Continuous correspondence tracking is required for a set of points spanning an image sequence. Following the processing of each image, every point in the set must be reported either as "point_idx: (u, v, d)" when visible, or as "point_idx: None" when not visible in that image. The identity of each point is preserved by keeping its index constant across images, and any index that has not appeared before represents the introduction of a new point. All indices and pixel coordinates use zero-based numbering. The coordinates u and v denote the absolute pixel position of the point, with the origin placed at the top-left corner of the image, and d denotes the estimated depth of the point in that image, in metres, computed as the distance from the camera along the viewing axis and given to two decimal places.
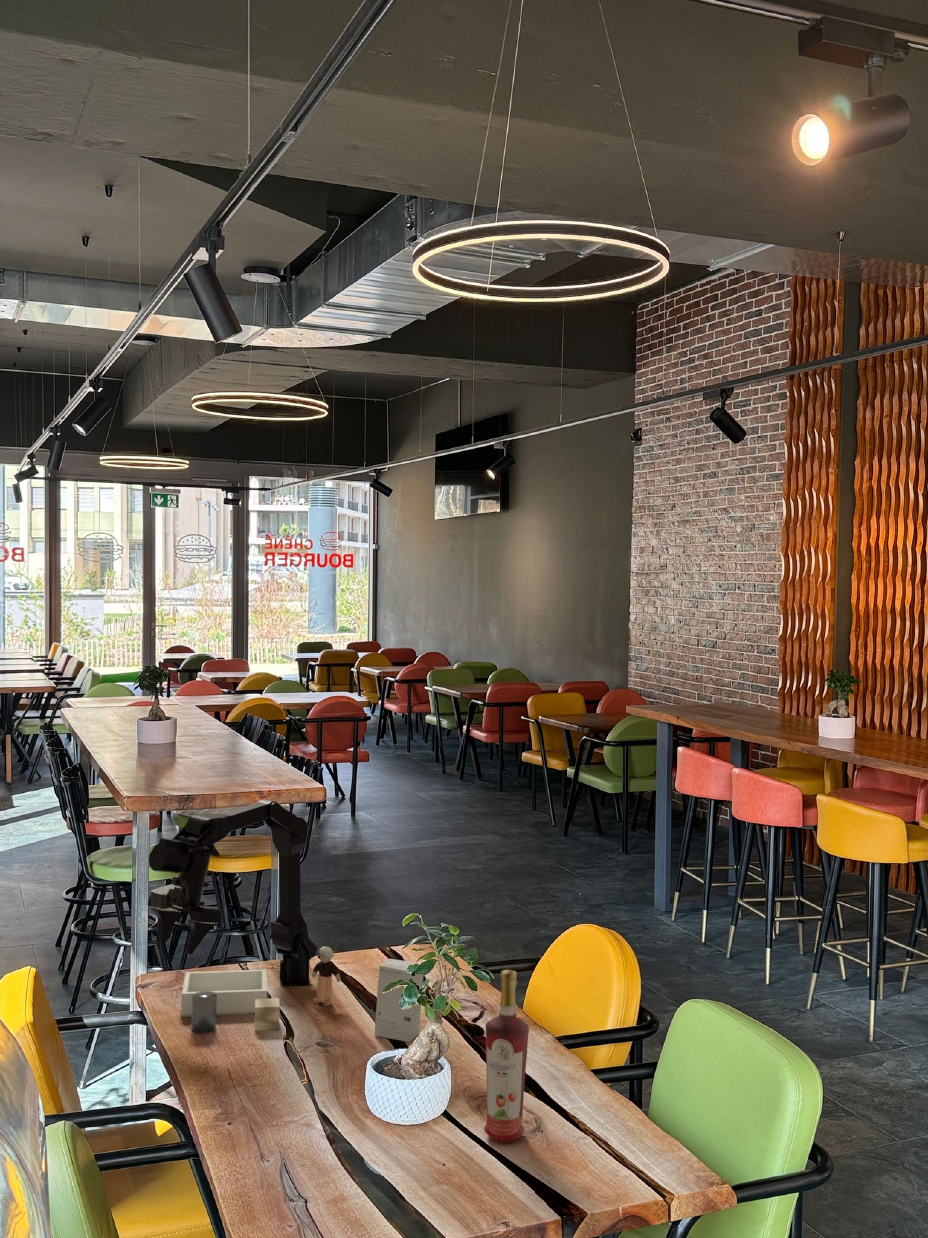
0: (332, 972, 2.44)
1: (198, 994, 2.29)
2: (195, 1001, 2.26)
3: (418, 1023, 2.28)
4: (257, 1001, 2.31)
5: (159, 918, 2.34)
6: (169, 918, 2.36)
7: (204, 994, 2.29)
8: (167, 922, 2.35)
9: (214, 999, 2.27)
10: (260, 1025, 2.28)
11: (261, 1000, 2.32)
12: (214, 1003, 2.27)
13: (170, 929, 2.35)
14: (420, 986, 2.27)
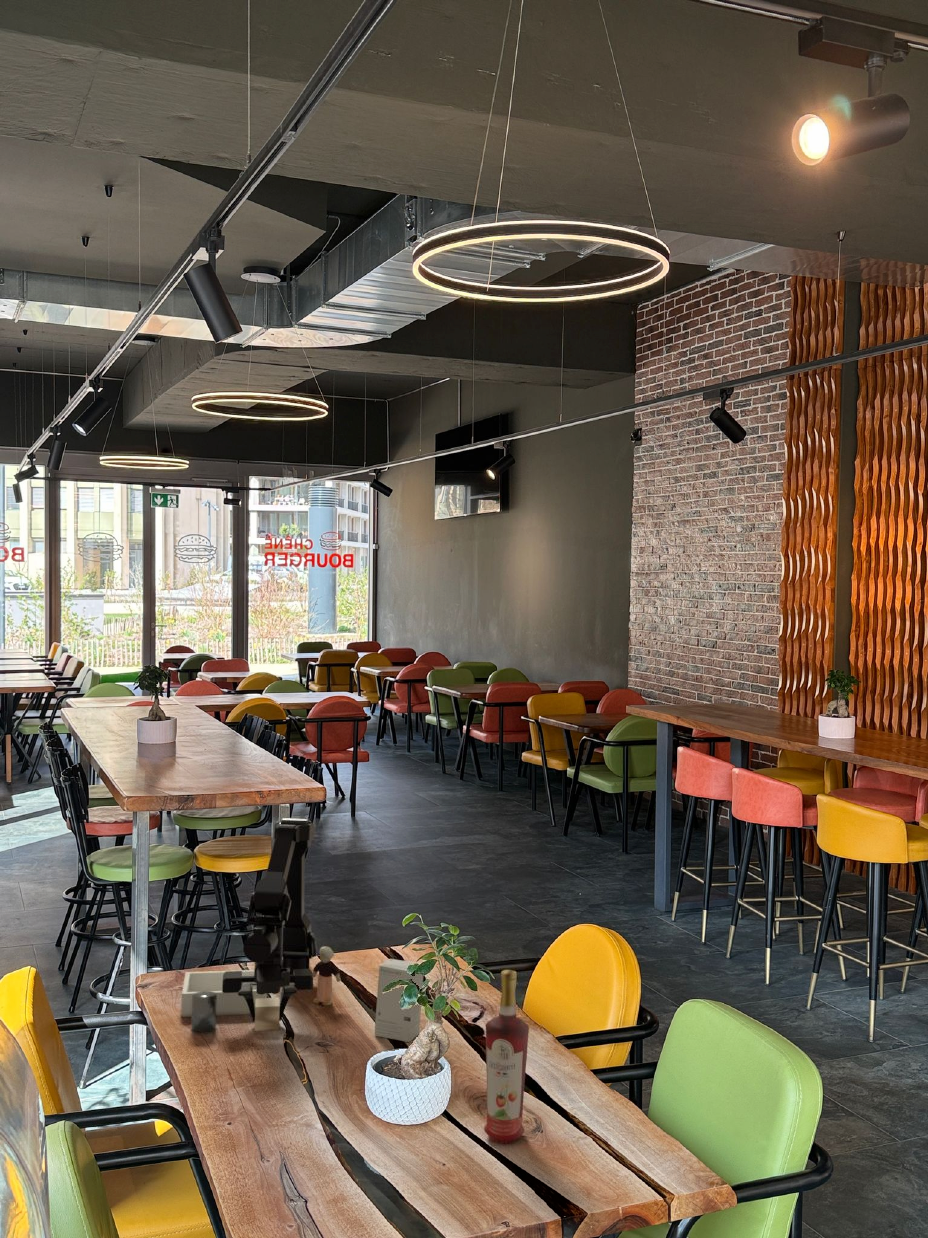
0: (332, 972, 2.44)
1: (198, 994, 2.29)
2: (195, 1001, 2.26)
3: (418, 1023, 2.28)
4: (257, 1001, 2.31)
5: (249, 999, 2.28)
6: None
7: (204, 994, 2.29)
8: (253, 999, 2.30)
9: (214, 999, 2.27)
10: (260, 1025, 2.28)
11: (261, 1000, 2.32)
12: (214, 1003, 2.27)
13: None
14: (420, 986, 2.27)
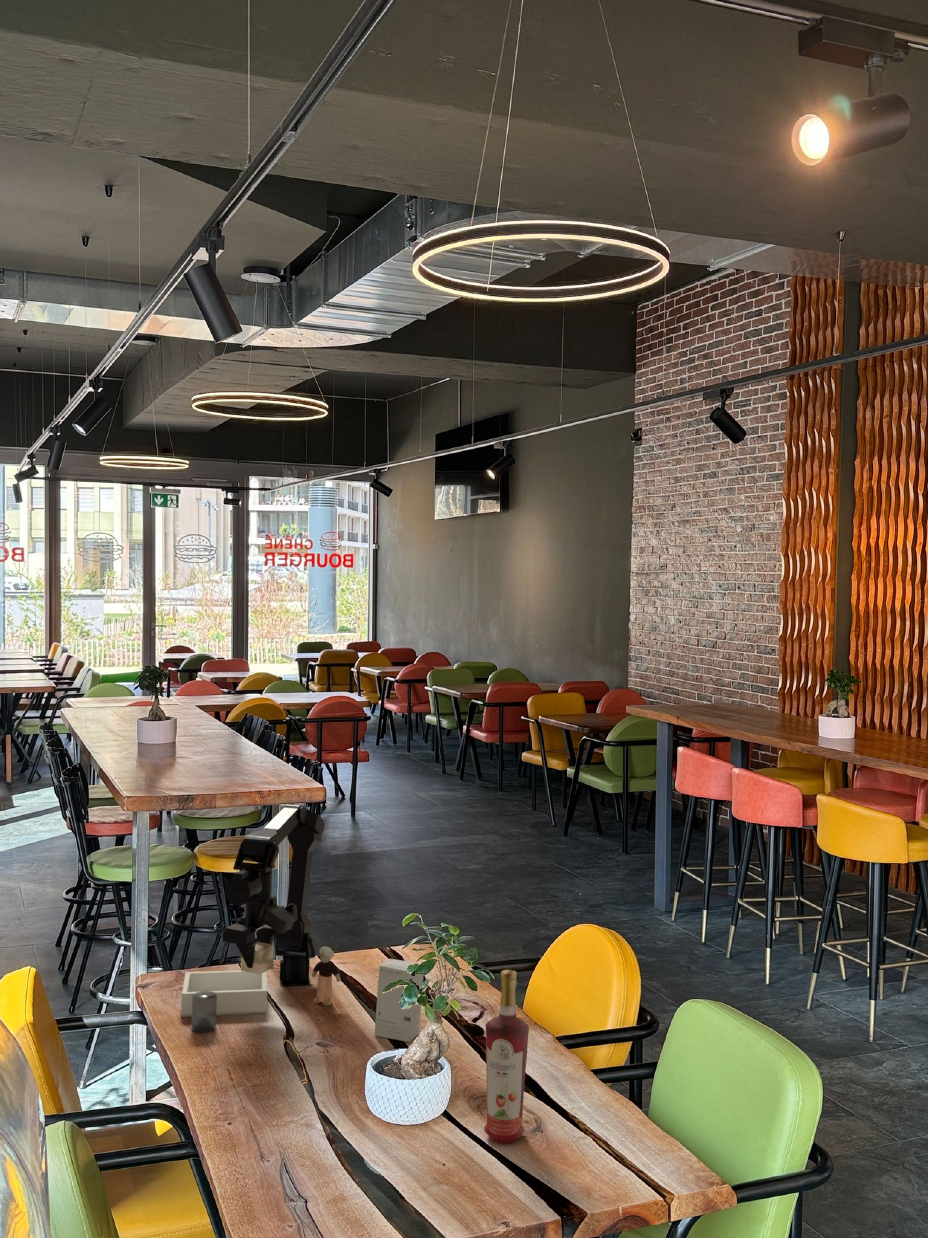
0: (332, 972, 2.44)
1: (198, 994, 2.29)
2: (195, 1001, 2.26)
3: (418, 1023, 2.28)
4: None
5: (253, 946, 2.33)
6: None
7: (204, 994, 2.29)
8: None
9: (214, 999, 2.27)
10: (263, 967, 2.35)
11: None
12: (214, 1003, 2.27)
13: None
14: (420, 986, 2.27)
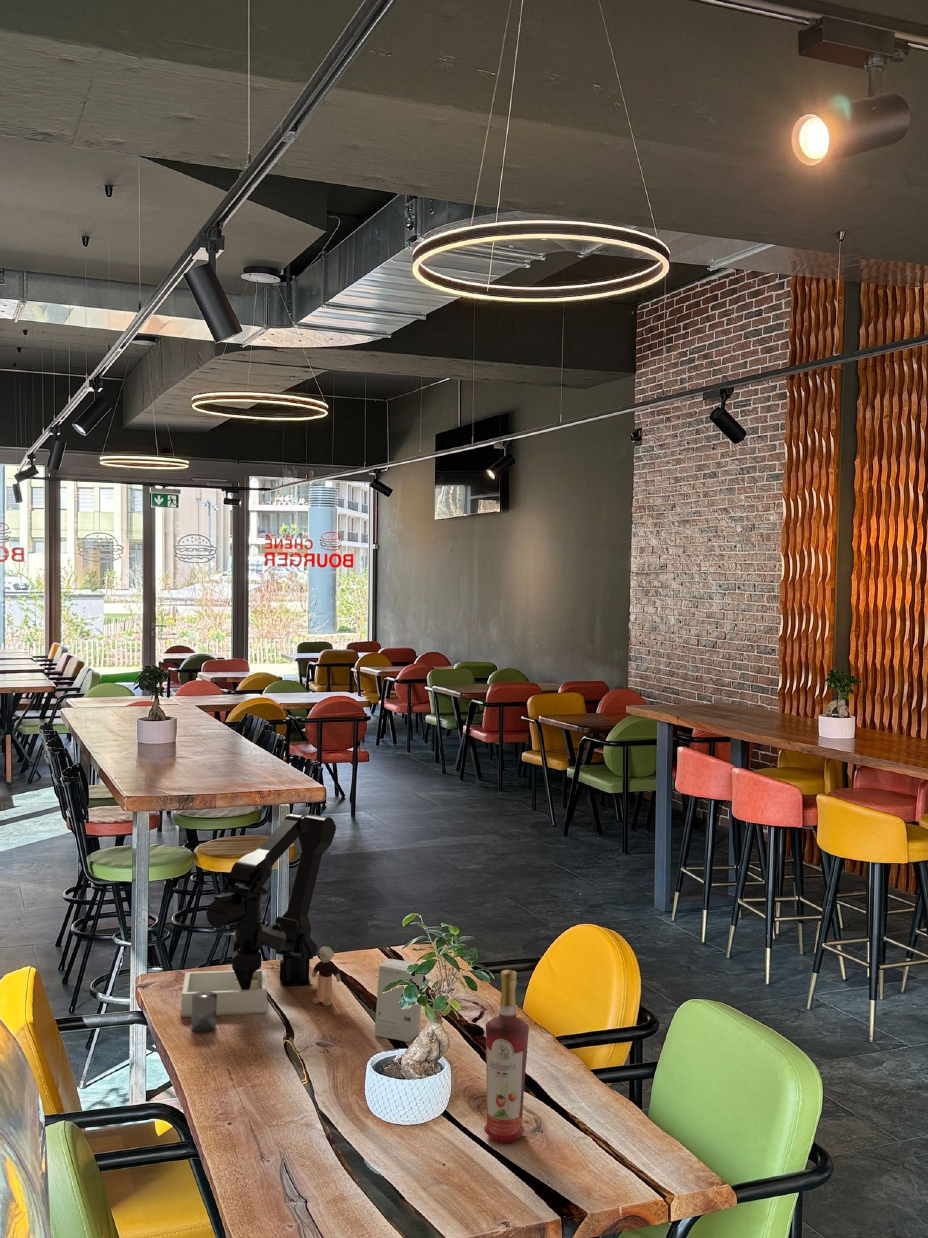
0: (332, 972, 2.44)
1: (198, 994, 2.29)
2: (195, 1001, 2.26)
3: (418, 1023, 2.28)
4: None
5: (253, 972, 2.38)
6: None
7: (204, 994, 2.29)
8: None
9: (214, 999, 2.27)
10: None
11: None
12: (214, 1003, 2.27)
13: None
14: (420, 986, 2.27)
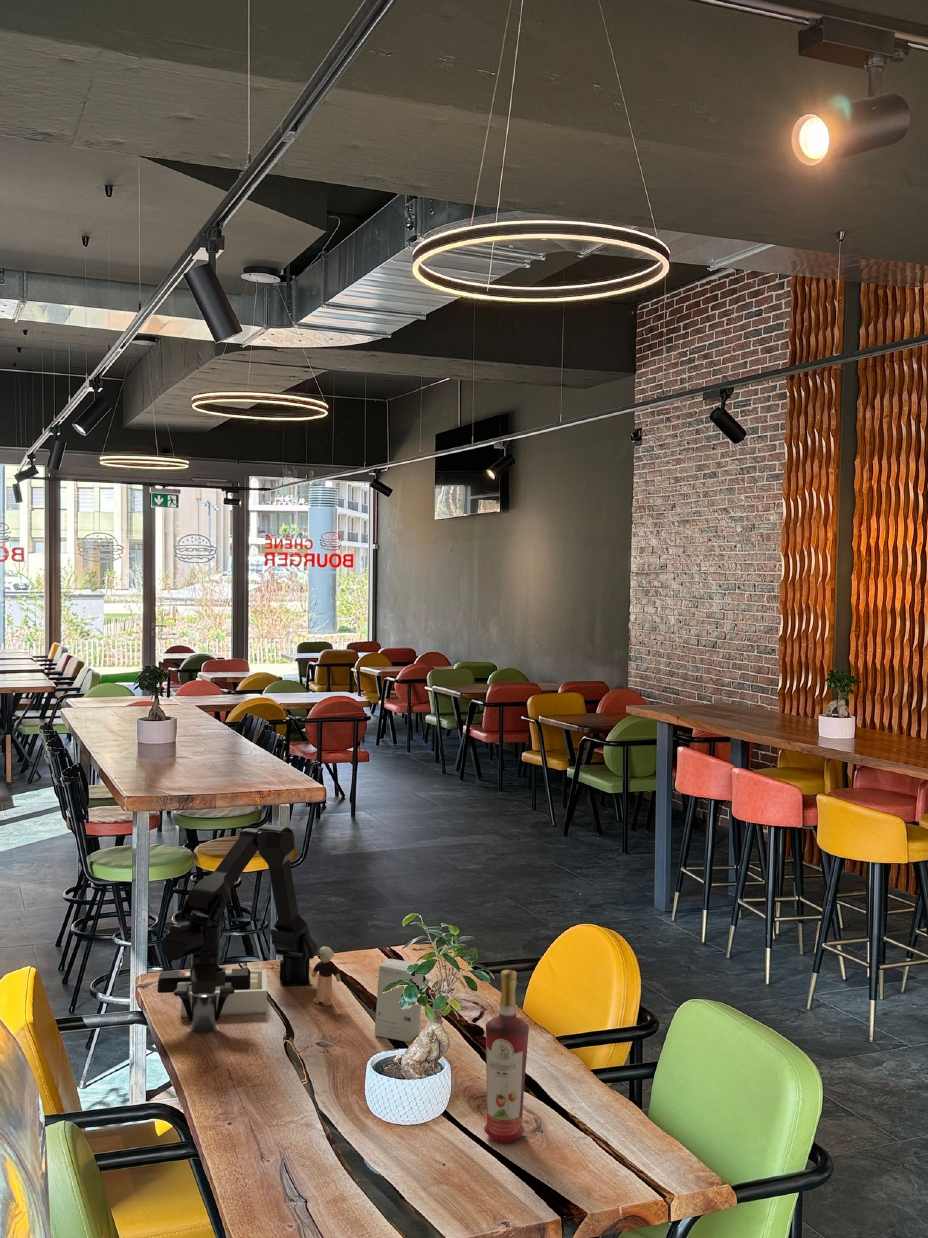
0: (332, 972, 2.44)
1: (197, 994, 2.29)
2: (195, 1001, 2.26)
3: (418, 1023, 2.28)
4: None
5: (185, 999, 2.26)
6: (189, 995, 2.28)
7: (204, 993, 2.29)
8: (190, 999, 2.27)
9: (214, 999, 2.27)
10: None
11: None
12: (214, 1003, 2.27)
13: None
14: (420, 986, 2.27)
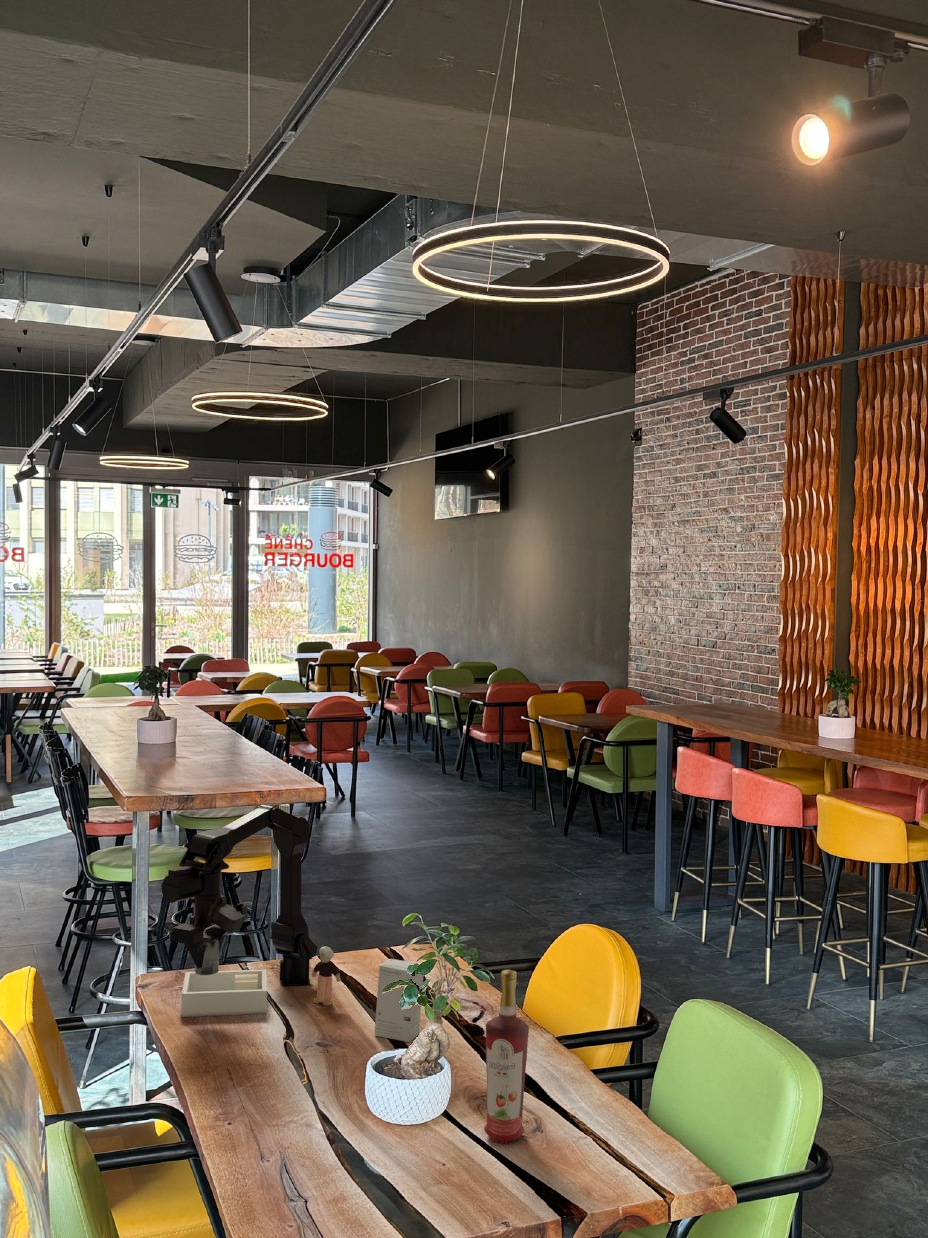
0: (332, 972, 2.44)
1: None
2: (208, 945, 2.33)
3: (418, 1023, 2.28)
4: (242, 981, 2.41)
5: (202, 946, 2.31)
6: None
7: None
8: None
9: None
10: None
11: (239, 980, 2.42)
12: None
13: None
14: (420, 986, 2.27)
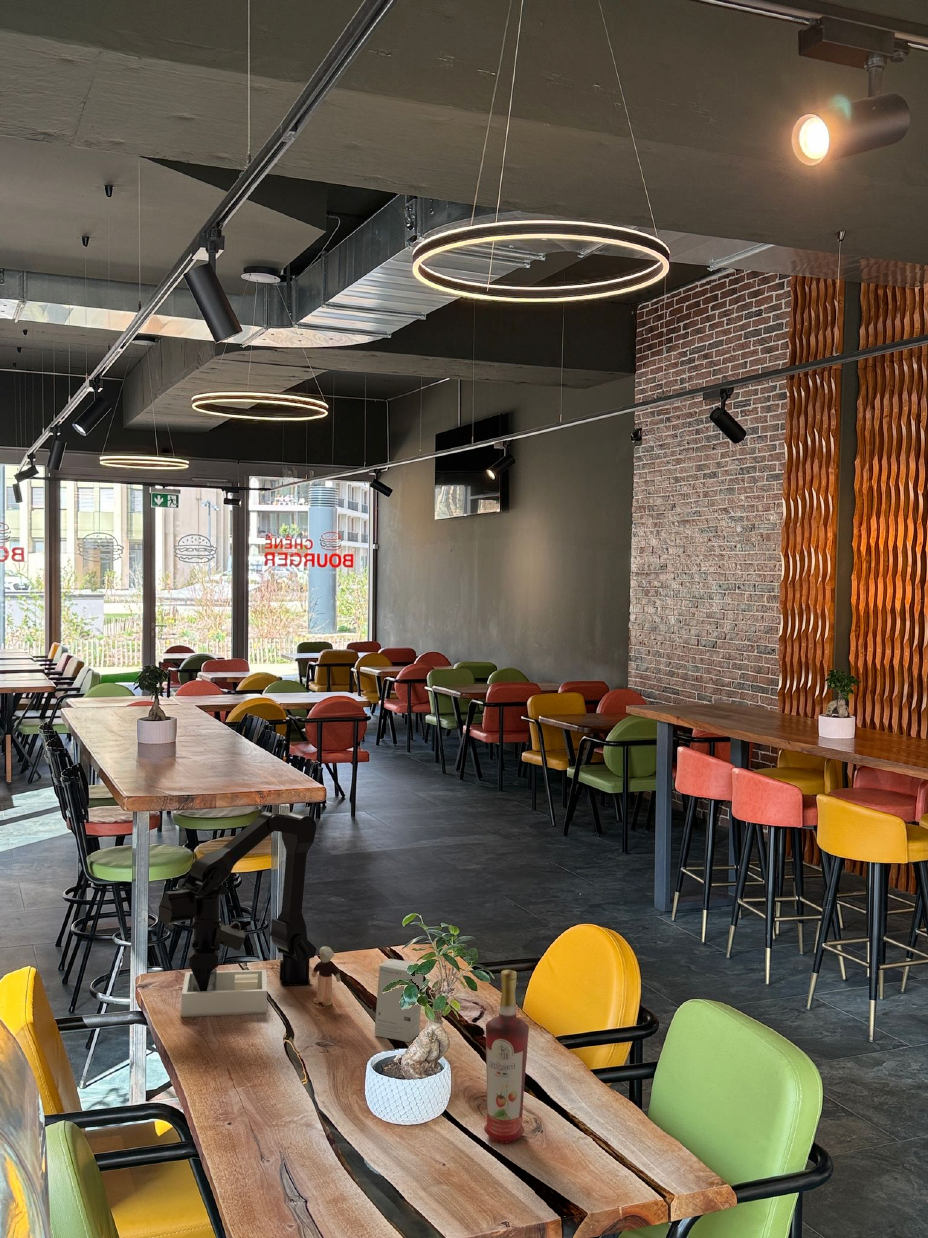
0: (332, 972, 2.44)
1: None
2: (212, 975, 2.40)
3: (418, 1023, 2.28)
4: (242, 981, 2.41)
5: (211, 970, 2.37)
6: None
7: None
8: None
9: None
10: None
11: (239, 980, 2.42)
12: None
13: None
14: (420, 986, 2.27)
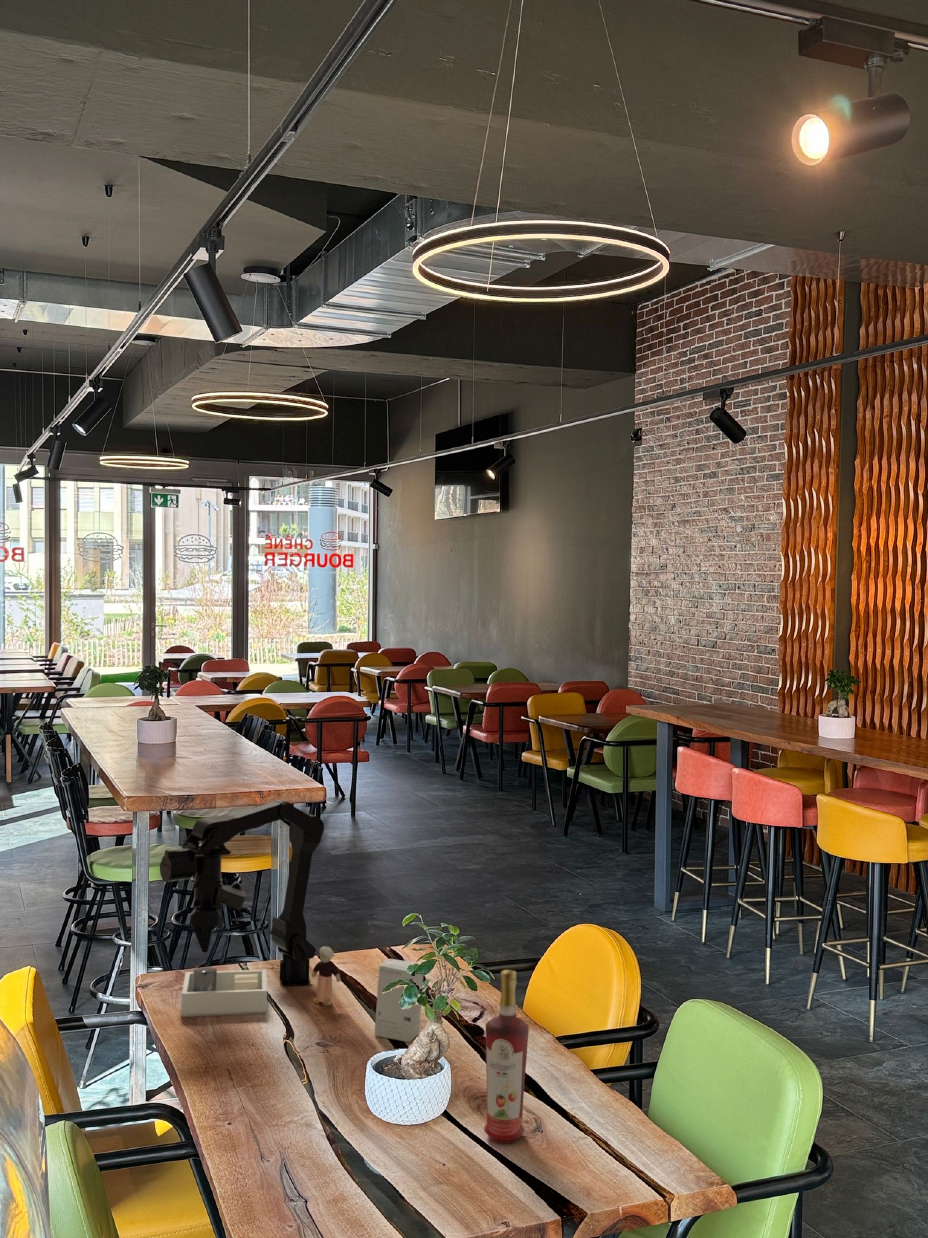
0: (332, 972, 2.44)
1: (200, 973, 2.40)
2: (213, 975, 2.40)
3: (418, 1023, 2.28)
4: (242, 981, 2.41)
5: (212, 929, 2.38)
6: None
7: (200, 971, 2.41)
8: None
9: None
10: None
11: (239, 980, 2.42)
12: None
13: None
14: (420, 986, 2.27)
